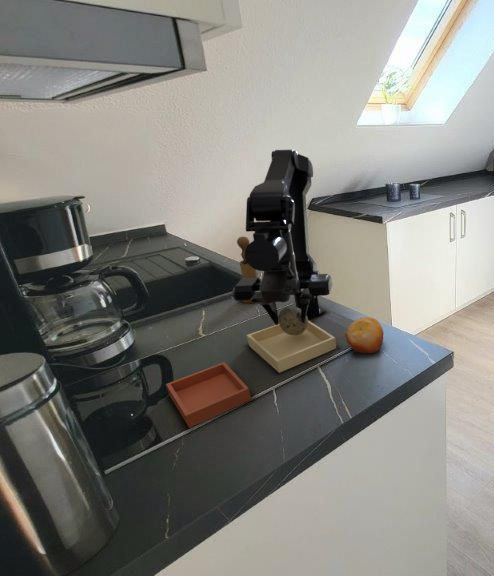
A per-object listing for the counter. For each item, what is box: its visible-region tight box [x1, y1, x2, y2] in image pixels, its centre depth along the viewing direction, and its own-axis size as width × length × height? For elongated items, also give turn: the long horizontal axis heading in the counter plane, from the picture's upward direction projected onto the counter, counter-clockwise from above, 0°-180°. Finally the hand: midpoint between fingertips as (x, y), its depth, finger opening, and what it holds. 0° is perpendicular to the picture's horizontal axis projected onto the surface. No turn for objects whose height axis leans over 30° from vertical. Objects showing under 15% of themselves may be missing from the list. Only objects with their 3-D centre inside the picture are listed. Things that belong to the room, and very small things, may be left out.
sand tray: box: [246, 320, 337, 374], centre depth 89 cm, size 15×13×3 cm
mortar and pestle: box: [236, 236, 259, 304], centre depth 111 cm, size 7×6×18 cm
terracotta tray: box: [165, 361, 252, 429], centre depth 73 cm, size 12×10×2 cm
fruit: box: [344, 316, 384, 354], centre depth 88 cm, size 8×8×8 cm
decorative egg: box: [278, 305, 309, 335], centre depth 89 cm, size 6×6×10 cm
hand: (290, 323), depth 87 cm, fingers closed on decorative egg, 5 cm apart
